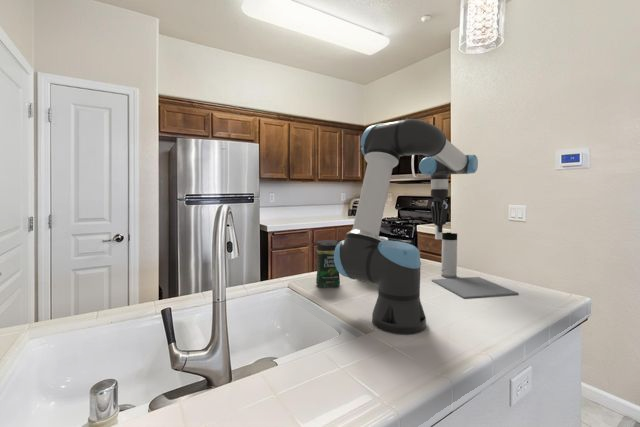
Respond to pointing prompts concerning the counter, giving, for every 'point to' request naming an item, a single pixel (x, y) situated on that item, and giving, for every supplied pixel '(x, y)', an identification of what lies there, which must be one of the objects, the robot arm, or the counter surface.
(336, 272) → the coffee jar
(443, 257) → the travel mug
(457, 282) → the mat
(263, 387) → the counter surface
